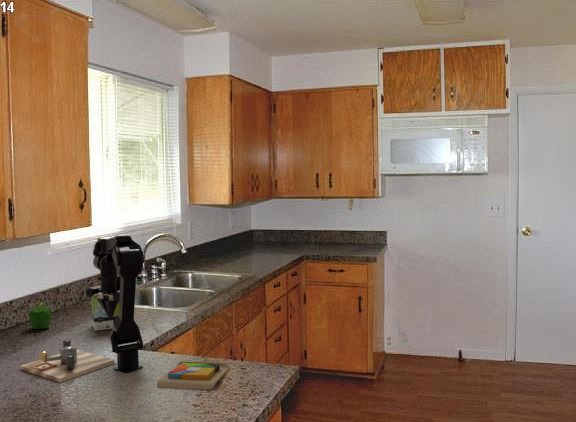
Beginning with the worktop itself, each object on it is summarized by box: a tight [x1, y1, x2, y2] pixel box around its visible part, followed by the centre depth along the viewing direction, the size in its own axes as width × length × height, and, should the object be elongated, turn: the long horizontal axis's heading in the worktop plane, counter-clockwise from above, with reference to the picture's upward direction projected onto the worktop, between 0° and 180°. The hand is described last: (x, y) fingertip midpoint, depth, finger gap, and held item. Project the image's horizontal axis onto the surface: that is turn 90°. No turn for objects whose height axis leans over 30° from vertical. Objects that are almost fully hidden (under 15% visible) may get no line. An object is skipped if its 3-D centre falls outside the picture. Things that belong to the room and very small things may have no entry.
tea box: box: [91, 291, 120, 332], centre depth 235 cm, size 15×10×15 cm, turn 114°
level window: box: [31, 362, 57, 371], centre depth 185 cm, size 6×6×1 cm
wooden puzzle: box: [156, 360, 230, 391], centre depth 177 cm, size 18×19×4 cm
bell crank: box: [38, 339, 78, 371], centre depth 187 cm, size 11×20×5 cm, turn 24°
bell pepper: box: [28, 301, 52, 330], centre depth 234 cm, size 8×8×10 cm
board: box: [20, 349, 116, 383], centre depth 189 cm, size 21×20×1 cm
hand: (110, 318), depth 201 cm, fingers closed
